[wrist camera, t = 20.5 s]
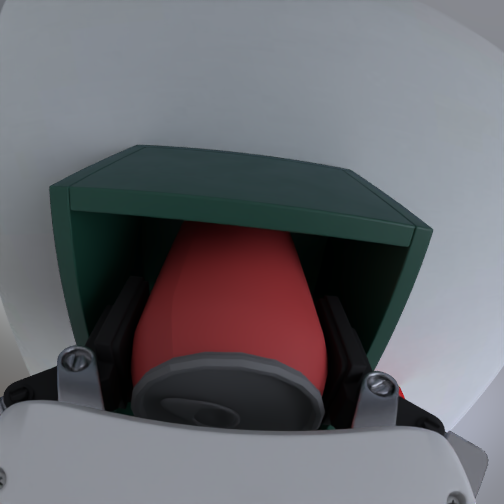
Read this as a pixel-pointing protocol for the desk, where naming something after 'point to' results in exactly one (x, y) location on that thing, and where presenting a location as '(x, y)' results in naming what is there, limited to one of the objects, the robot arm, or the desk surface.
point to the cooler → (238, 214)
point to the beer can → (230, 335)
